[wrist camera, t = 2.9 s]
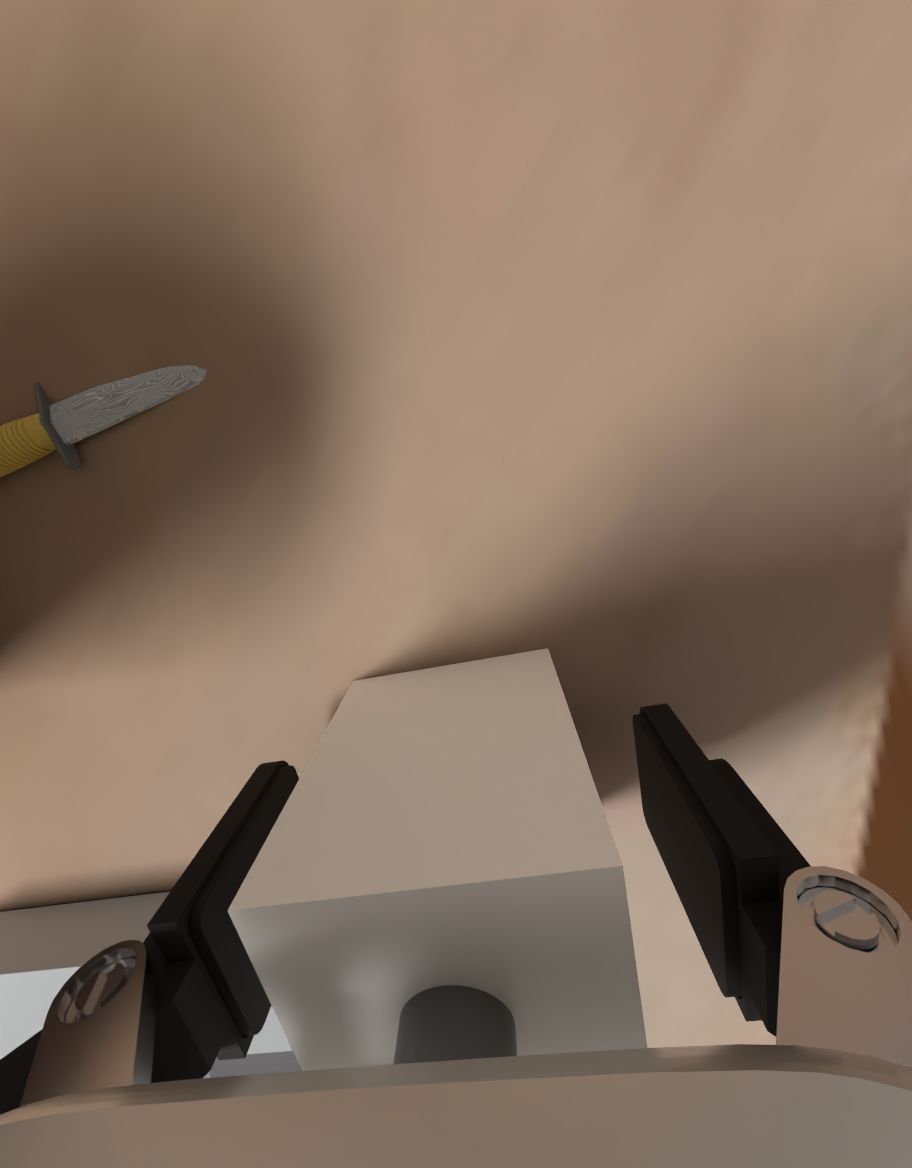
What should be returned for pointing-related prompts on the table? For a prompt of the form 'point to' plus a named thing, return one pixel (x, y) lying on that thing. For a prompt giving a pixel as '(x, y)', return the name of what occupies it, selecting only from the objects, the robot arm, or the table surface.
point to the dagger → (88, 415)
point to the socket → (66, 942)
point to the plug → (445, 879)
